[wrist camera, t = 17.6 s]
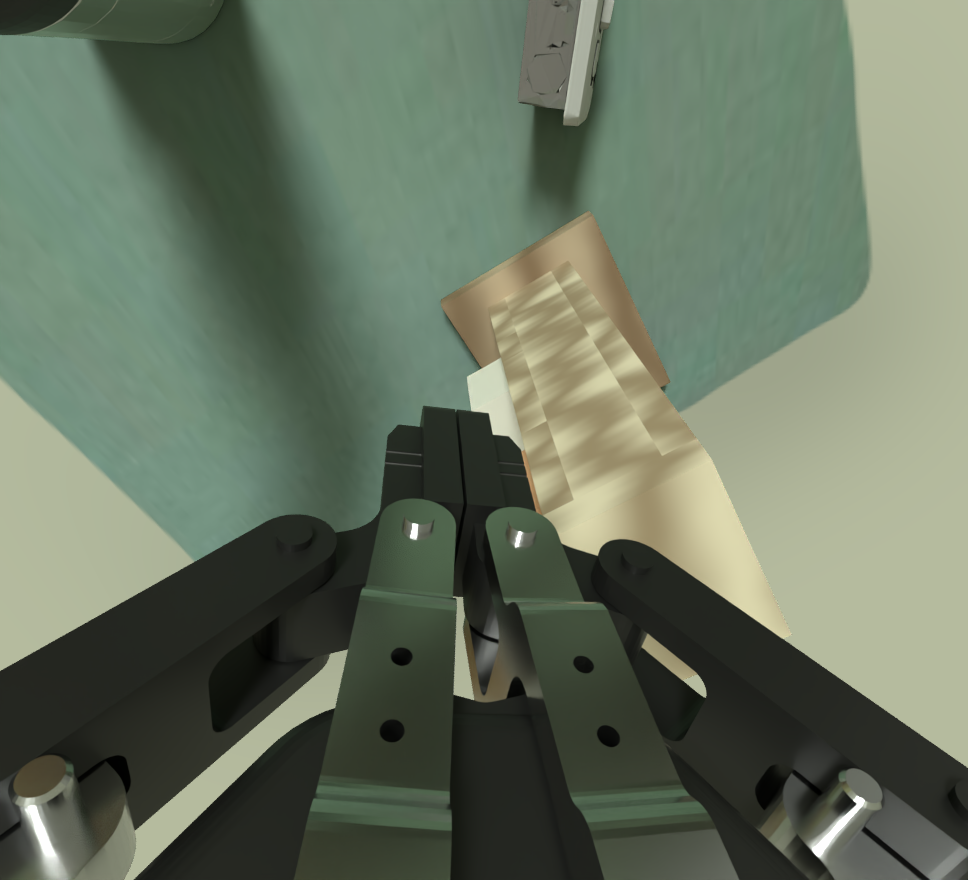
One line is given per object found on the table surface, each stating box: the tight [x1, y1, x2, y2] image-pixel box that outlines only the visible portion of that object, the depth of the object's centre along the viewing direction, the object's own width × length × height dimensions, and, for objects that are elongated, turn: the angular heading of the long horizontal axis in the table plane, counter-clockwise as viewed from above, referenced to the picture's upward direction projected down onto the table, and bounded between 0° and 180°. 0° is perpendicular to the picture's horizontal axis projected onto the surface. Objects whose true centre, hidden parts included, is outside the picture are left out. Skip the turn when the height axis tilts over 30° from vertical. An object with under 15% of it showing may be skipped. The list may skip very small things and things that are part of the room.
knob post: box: [441, 211, 792, 680], centre depth 39 cm, size 13×16×28 cm
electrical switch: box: [518, 0, 614, 126], centre depth 36 cm, size 9×5×9 cm, turn 174°
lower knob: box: [467, 358, 525, 451], centre depth 43 cm, size 8×9×5 cm
